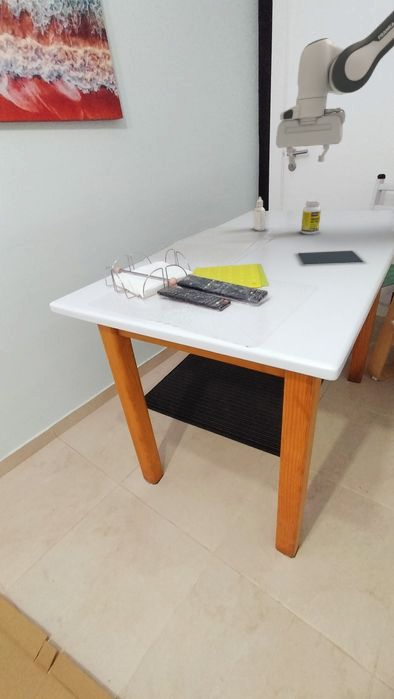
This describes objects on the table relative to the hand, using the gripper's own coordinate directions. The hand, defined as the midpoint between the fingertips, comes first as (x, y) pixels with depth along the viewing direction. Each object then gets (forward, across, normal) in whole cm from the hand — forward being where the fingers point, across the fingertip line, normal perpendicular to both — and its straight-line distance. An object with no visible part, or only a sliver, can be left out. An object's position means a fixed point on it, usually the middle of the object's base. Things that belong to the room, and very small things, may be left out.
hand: (306, 162), depth 110 cm
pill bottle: (+24, -2, -5) cm, 24 cm away
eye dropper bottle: (+24, +18, -5) cm, 30 cm away
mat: (+24, -16, +22) cm, 36 cm away
